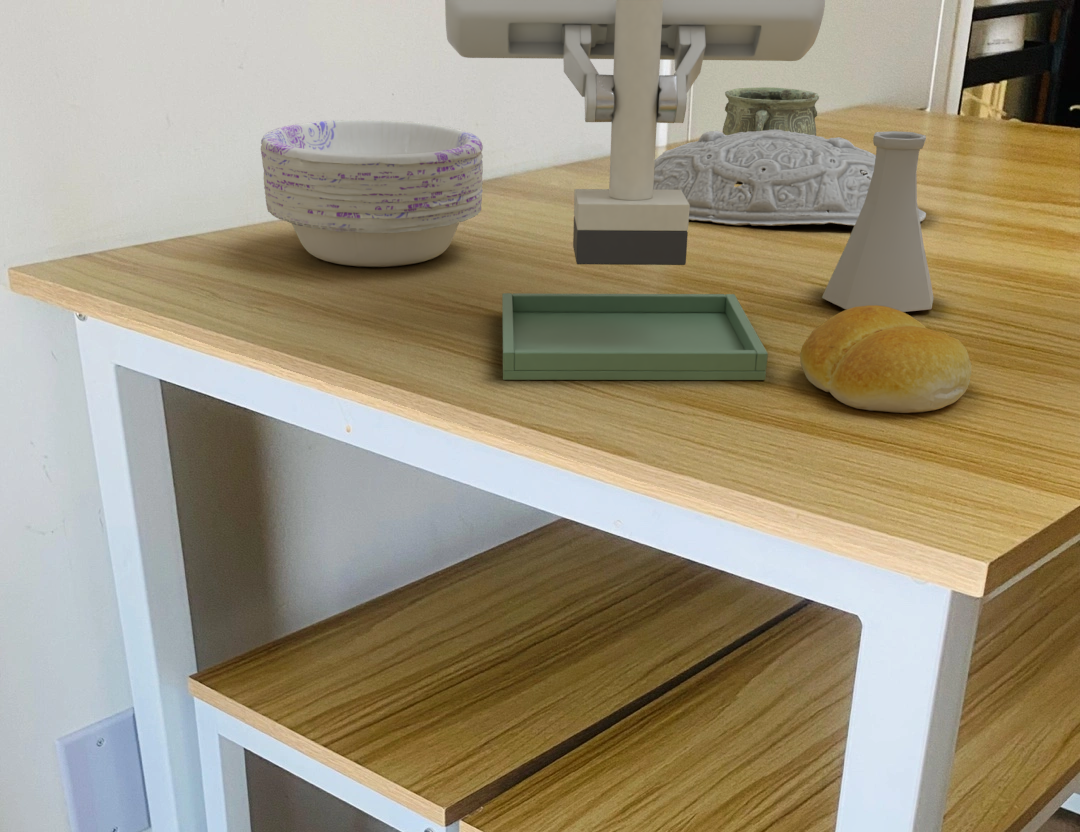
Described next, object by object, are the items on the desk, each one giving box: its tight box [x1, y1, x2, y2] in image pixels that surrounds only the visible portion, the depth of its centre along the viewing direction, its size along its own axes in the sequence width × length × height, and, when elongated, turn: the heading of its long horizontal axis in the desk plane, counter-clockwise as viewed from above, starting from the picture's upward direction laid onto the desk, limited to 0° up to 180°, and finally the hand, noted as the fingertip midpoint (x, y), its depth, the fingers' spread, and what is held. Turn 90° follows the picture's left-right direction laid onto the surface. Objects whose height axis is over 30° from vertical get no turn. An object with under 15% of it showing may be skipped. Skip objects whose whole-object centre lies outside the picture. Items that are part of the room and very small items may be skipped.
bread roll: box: [799, 305, 972, 414], centre depth 72 cm, size 8×9×4 cm
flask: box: [821, 130, 934, 313], centre depth 85 cm, size 7×7×10 cm
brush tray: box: [501, 292, 769, 381], centre depth 79 cm, size 14×12×2 cm
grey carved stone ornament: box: [653, 130, 927, 227], centre depth 111 cm, size 16×25×7 cm, turn 73°
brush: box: [572, 0, 690, 266], centre depth 73 cm, size 6×4×13 cm, turn 91°
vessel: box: [722, 86, 820, 136], centre depth 128 cm, size 12×9×6 cm
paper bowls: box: [260, 119, 484, 268], centre depth 96 cm, size 15×15×8 cm
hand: (636, 115), depth 72 cm, fingers closed on brush, 2 cm apart
